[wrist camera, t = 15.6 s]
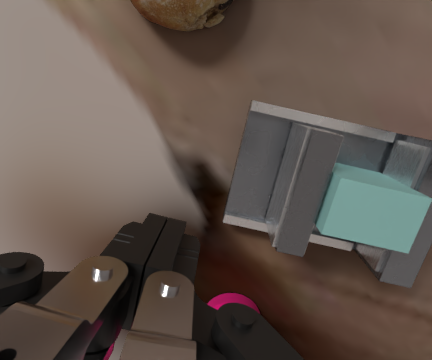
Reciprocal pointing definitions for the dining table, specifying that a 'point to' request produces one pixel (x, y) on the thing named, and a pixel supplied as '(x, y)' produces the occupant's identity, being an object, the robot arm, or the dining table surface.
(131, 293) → the robot arm
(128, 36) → the dining table surface
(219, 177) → the dining table surface
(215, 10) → the bread roll
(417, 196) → the teal block
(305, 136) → the bar
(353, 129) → the vise
